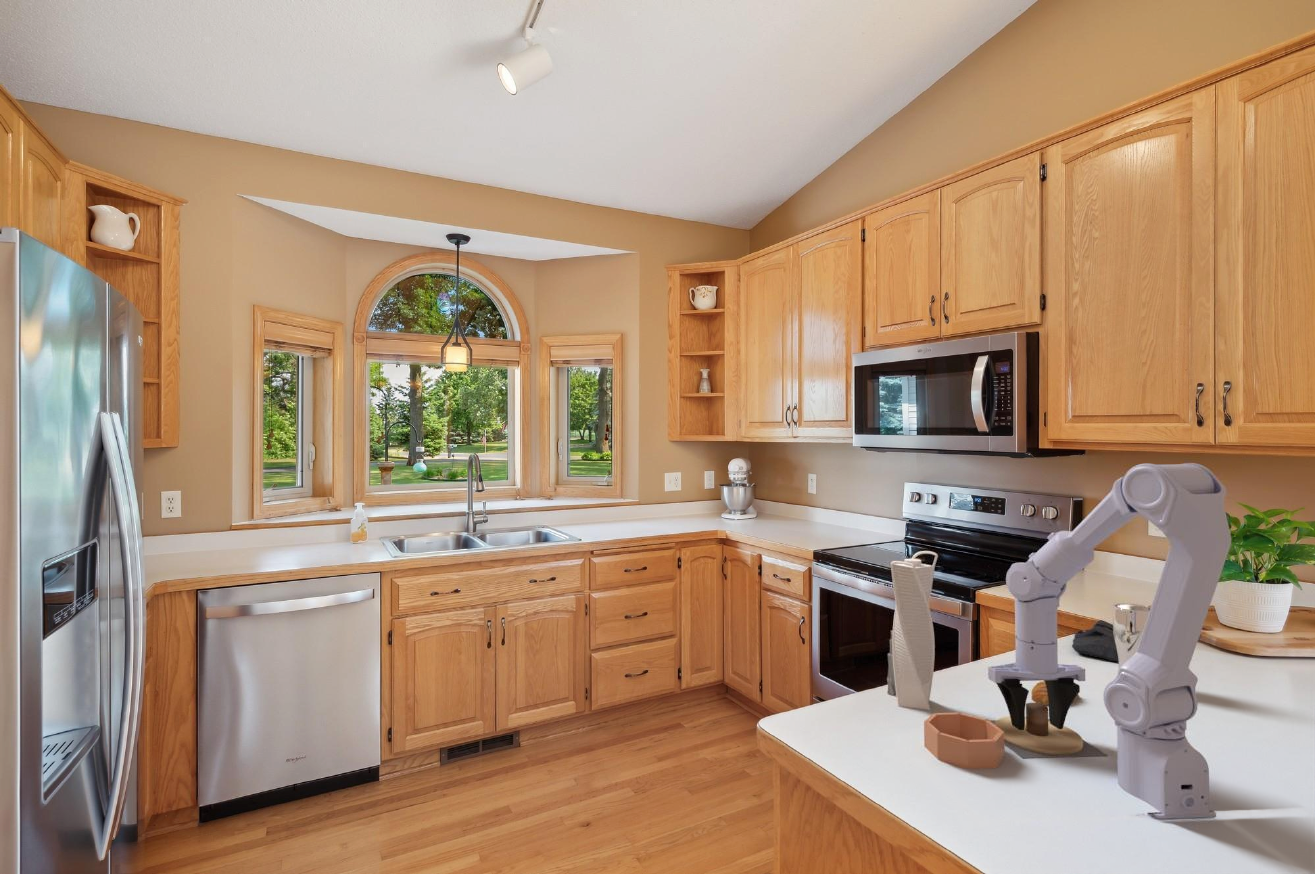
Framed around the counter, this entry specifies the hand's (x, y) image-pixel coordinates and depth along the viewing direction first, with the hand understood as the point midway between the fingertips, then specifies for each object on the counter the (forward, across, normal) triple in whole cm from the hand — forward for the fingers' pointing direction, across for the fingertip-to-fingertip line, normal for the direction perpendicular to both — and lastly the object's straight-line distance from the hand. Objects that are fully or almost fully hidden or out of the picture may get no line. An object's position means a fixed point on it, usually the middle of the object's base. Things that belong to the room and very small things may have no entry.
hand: (1037, 726), depth 101 cm
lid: (+2, 0, 0) cm, 2 cm away
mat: (+2, 0, 0) cm, 2 cm away
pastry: (+3, -14, -16) cm, 21 cm away
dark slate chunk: (+3, -47, -45) cm, 65 cm away
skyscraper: (+3, +13, -15) cm, 20 cm away
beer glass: (+3, -35, -23) cm, 42 cm away
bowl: (+2, +14, +4) cm, 15 cm away
